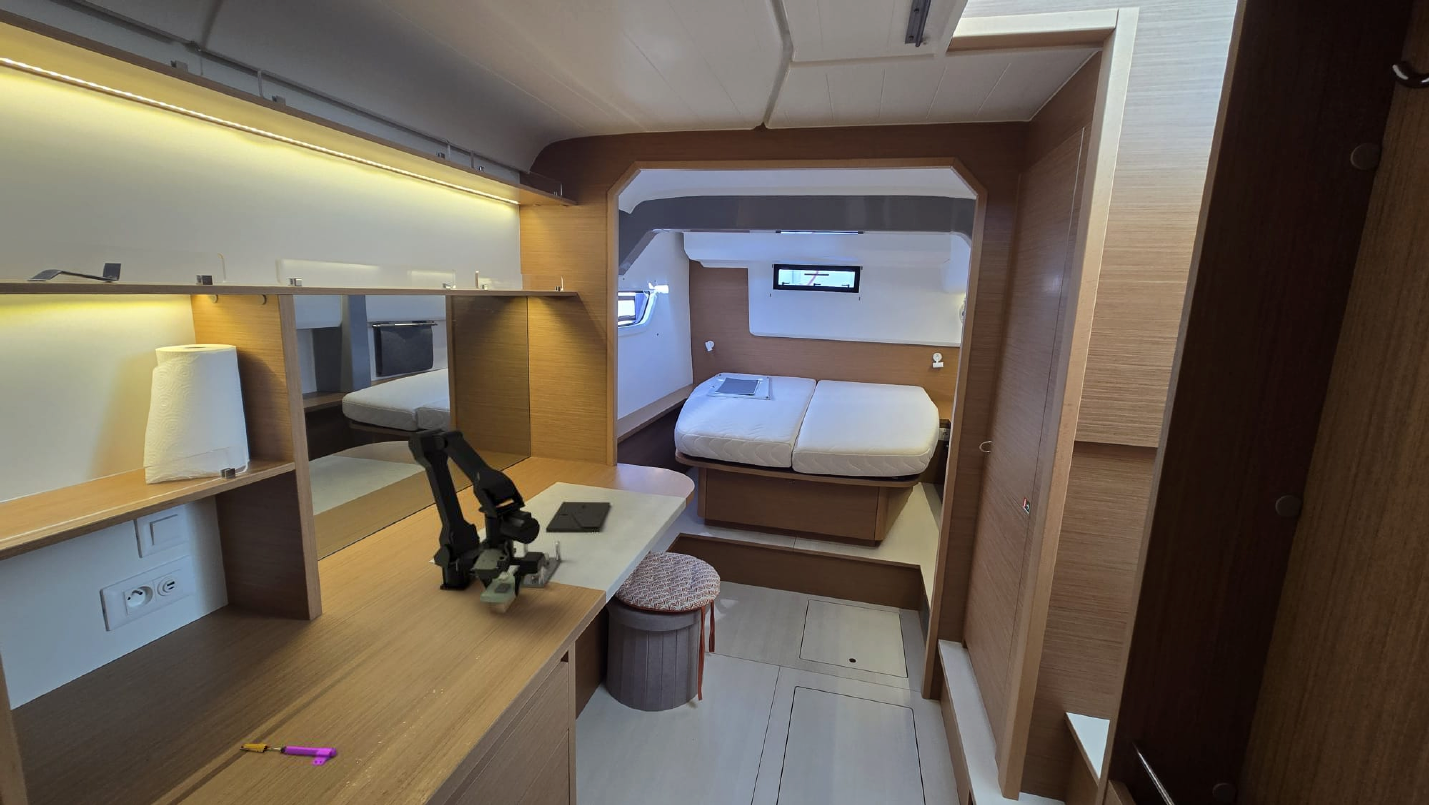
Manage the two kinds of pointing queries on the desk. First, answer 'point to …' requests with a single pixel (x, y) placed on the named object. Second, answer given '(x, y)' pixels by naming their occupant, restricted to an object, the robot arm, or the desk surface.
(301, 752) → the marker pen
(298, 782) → the desk surface
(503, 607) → the block
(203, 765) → the desk surface
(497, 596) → the board
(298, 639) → the desk surface
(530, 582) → the chassis
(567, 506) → the picture frame
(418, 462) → the robot arm
